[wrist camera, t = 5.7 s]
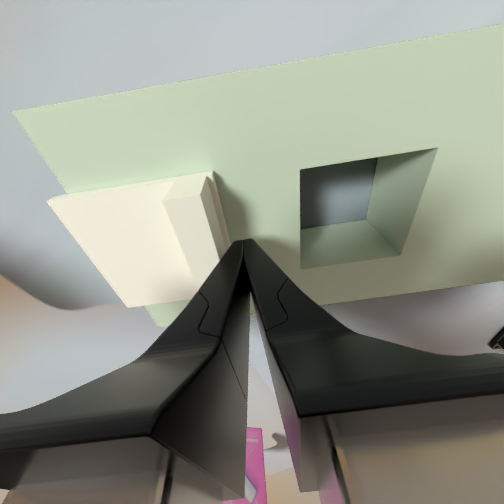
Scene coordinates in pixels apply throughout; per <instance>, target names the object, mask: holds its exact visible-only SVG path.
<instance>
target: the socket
mask: <svg viewBox="0 0 504 504" xmlns="http://www.w3.org/2000/svg"><path fill="white" fill-rule="evenodd" d="M11 112H12V113H13V115H14V116H15V118H16V119H17V121H18V122H19V124H20V125H21V127H22V128H23V129H24V131H25V132H26V134H27V135H28V137H29V138H30V140H31V141H32V143H33V144H34V146H35V147H36V148H37V150H38V151H39V153H40V154H41V156H42V157H43V159H44V160H45V162H46V163H47V165H48V166H49V167H50V169H51V170H52V172H53V173H54V175H55V176H56V178H57V179H58V181H59V182H60V184H61V185H62V187H63V188H64V189H65V191H66V192H67V194H71V193H78V192H84V191H90V190H96V189H102V188H109V187H115V186H121V185H127V184H133V183H140V182H146V181H152V180H158V179H164V178H170V177H177V176H183V175H189V174H195V173H201V172H208V171H213V173H214V177H215V181H216V185H217V189H218V194H219V198H220V202H221V206H222V210H223V214H224V218H225V222H226V226H227V231H228V235H229V239H230V243H231V244H232V243H233V242H234V241H236V240H244V239H249V238H253V239H254V240H255V241H256V242H257V244H258V245H259V246H260V247H261V248H262V249H263V250H264V251H265V252H266V253H267V254H268V255H269V256H270V258H271V259H272V260H273V261H274V262H275V263H276V264H277V265H278V266H279V267H280V268H281V269H282V271H283V272H284V273H285V274H286V275H287V276H288V277H289V278H290V279H291V280H292V281H293V282H294V283H295V284H296V285H297V286H298V287H299V288H300V289H301V290H302V291H303V292H304V293H305V294H306V295H307V296H308V297H309V298H311V299H312V300H313V301H314V302H315V303H317V304H318V305H326V304H334V303H341V302H348V301H356V300H363V299H371V298H378V297H385V296H393V295H400V294H408V293H415V292H422V291H430V290H437V289H445V288H452V287H459V286H467V285H474V284H482V283H489V282H496V281H504V24H499V25H493V26H488V27H482V28H477V29H471V30H465V31H460V32H454V33H449V34H443V35H437V36H432V37H426V38H421V39H415V40H409V41H404V42H398V43H393V44H387V45H381V46H376V47H370V48H365V49H359V50H353V51H348V52H342V53H337V54H331V55H325V56H320V57H314V58H308V59H303V60H297V61H292V62H286V63H280V64H275V65H269V66H264V67H258V68H252V69H247V70H241V71H236V72H230V73H224V74H219V75H213V76H208V77H202V78H196V79H191V80H185V81H180V82H174V83H168V84H163V85H157V86H152V87H146V88H140V89H135V90H129V91H124V92H118V93H112V94H107V95H101V96H96V97H90V98H84V99H79V100H73V101H68V102H62V103H56V104H51V105H45V106H39V107H34V108H28V109H23V110H17V111H11ZM375 157H378V160H377V165H376V170H375V175H374V180H373V185H372V190H371V195H370V200H369V205H368V210H367V215H366V220H359V221H352V222H346V223H339V224H332V225H325V226H319V227H312V228H305V229H300V169H306V168H312V167H318V166H325V165H331V164H337V163H343V162H350V161H356V160H362V159H369V158H375ZM190 300H191V299H187V300H180V301H173V302H166V303H158V304H151V305H144V307H145V308H146V309H147V311H148V312H149V314H150V315H151V317H152V318H153V320H154V321H155V323H156V324H157V326H158V327H163V326H169V325H170V324H171V323H172V322H173V321H174V320H175V319H176V317H177V316H178V315H179V314H180V313H181V312H182V310H183V309H184V308H185V307H186V306H187V304H188V303H189V302H190ZM252 314H256V312H255V308H254V304H253V300H252V296H251V292H250V315H252Z"/></svg>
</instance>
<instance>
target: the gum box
mask: <svg viewBox="0 0 504 504" xmlns="http://www.w3.org/2000/svg"><path fill="white" fill-rule="evenodd" d="M262 442H263V441H262V429H261V428H250V427H247V433H246V467H245V498H244V499H236V500H227V501H222V504H267V495H266V482H265V469H264V456H263V443H262Z"/></svg>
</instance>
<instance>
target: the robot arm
mask: <svg viewBox="0 0 504 504" xmlns="http://www.w3.org/2000/svg"><path fill="white" fill-rule="evenodd" d="M250 292H251V296H252V300H253V304H254V308H255V312H256V316H257V320H258V324H259V328H260V332H261V336H262V340H263V344H264V348H265V352H266V356H267V360H268V365H269V369H270V373H271V377H272V381H273V385H274V389H275V393H276V397H277V401H278V405H279V408H280V413H281V417H282V421H283V425H284V429H285V433H286V437H287V441H288V445H289V449H290V453H291V457H292V461H293V465H294V469H295V473H296V477H297V481H298V486H299V490H300V492H310V491H319V496H320V501H321V504H504V354H498V353H483V354H475V355H466V356H450V355H441V354H434V353H429V352H425V351H421V350H417V349H413V348H410V347H406V346H402V345H398V344H395V343H391V342H387V341H384V340H380V339H376V338H372V337H369V336H365V335H361V334H358V333H356V332H354V331H352V330H350V329H348V328H347V327H345V326H344V325H343V324H341V323H340V322H339V321H337V320H336V319H335V318H334V317H333V316H331V315H330V314H329V313H328V312H326V311H325V310H324V309H323V308H322V307H320V306H319V305H318V304H317V303H315V302H314V301H313V300H312V299H311V298H309V297H308V296H307V295H306V294H305V293H304V292H303V291H302V290H301V289H300V288H299V287H298V286H297V285H296V284H295V283H294V282H293V281H292V280H291V279H290V278H289V277H288V276H287V275H286V274H285V273H284V272H283V271H282V269H281V268H280V267H279V266H278V265H277V264H276V263H275V262H274V261H273V260H272V259H271V258H270V256H269V255H268V254H267V253H266V252H265V251H264V250H263V249H262V248H261V247H260V246H259V245H258V244H257V242H256V241H255V240H254V239H253V238H249V239H244V240H236V241H234V242H233V243H232V244H231V246H230V247H229V248H228V250H227V251H226V253H225V254H224V255H223V257H222V258H221V259H220V261H219V262H218V264H217V265H216V266H215V268H214V269H213V270H212V272H211V273H210V275H209V276H208V277H207V279H206V280H205V281H204V283H203V284H202V286H201V287H200V288H199V290H198V291H197V292H196V294H195V295H194V296H193V298H192V299H191V300H190V302H189V303H188V304H187V306H186V307H185V308H184V309H183V310H182V312H181V313H180V314H179V315H178V316H177V317H176V319H175V320H174V321H173V322H172V323H171V324H170V325H169V326H168V328H167V329H166V330H165V331H164V332H163V333H162V334H161V335H160V336H159V338H158V339H157V340H156V341H155V342H154V343H153V344H152V345H151V346H150V347H149V348H148V350H147V351H146V352H145V353H143V354H142V355H141V356H140V357H139V358H137V359H136V360H135V361H133V362H131V363H130V364H128V365H126V366H124V367H122V368H119V369H117V370H115V371H113V372H111V373H109V374H106V375H104V376H102V377H100V378H98V379H95V380H93V381H91V382H89V383H87V384H84V385H82V386H80V387H78V388H76V389H74V390H71V391H69V392H67V393H65V394H63V395H60V396H58V397H56V398H54V399H51V400H49V401H47V402H44V403H42V404H39V405H36V406H34V407H31V408H28V409H25V410H21V411H17V412H13V413H6V414H0V489H7V490H9V492H8V494H7V496H6V498H5V499H4V501H3V503H2V504H222V501H227V500H236V499H244V498H245V467H246V433H247V396H248V362H249V327H250ZM489 346H490V347H491V348H492V349H501V348H503V349H504V330H503V331H502V332H501V333H500V334H499V335H498V336H497V337H496V338H495V339H494V340H493V341H492V342H491V343H490V344H489Z"/></svg>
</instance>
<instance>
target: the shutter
mask: <svg viewBox="0 0 504 504" xmlns="http://www.w3.org/2000/svg"><path fill="white" fill-rule="evenodd" d="M47 203H48V204H49V205H50V207H51V208H52V209H53V211H54V212H55V213H56V215H57V216H58V217H59V218H60V220H61V221H62V222H63V224H64V225H65V226H66V228H67V229H68V230H69V232H70V233H71V234H72V236H73V237H74V238H75V240H76V241H77V242H78V243H79V245H80V246H81V247H82V249H83V250H84V251H85V253H86V254H87V255H88V257H89V258H90V259H91V261H92V262H93V263H94V264H95V266H96V267H97V268H98V270H99V271H100V272H101V274H102V275H103V276H104V278H105V279H106V280H107V282H108V283H109V284H110V285H111V287H112V288H113V289H114V291H115V292H116V293H117V295H118V296H119V297H120V299H121V300H122V301H123V303H124V304H125V305H126V307H127V308H130V307H137V306H144V305H151V304H158V303H166V302H173V301H180V300H187V299H192V298H193V296H194V295H195V294H196V292H197V291H198V290H199V288H200V287H201V286H202V284H203V283H204V281H205V280H206V279H207V277H208V276H209V275H210V273H211V272H212V270H213V269H214V268H215V266H216V265H217V264H218V262H219V261H220V259H221V258H222V257H223V255H224V254H225V253H226V251H227V250H228V248H229V247H230V246H231V243H230V239H229V235H228V231H227V226H226V222H225V218H224V214H223V210H222V206H221V202H220V198H219V194H218V189H217V185H216V181H215V177H214V173H213V171H208V172H201V173H195V174H189V175H183V176H177V177H170V178H164V179H158V180H152V181H146V182H140V183H133V184H127V185H121V186H115V187H109V188H102V189H96V190H90V191H84V192H78V193H71V194H65V195H59V196H55V197H53V198H51V199H50V200H48V201H47Z"/></svg>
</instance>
